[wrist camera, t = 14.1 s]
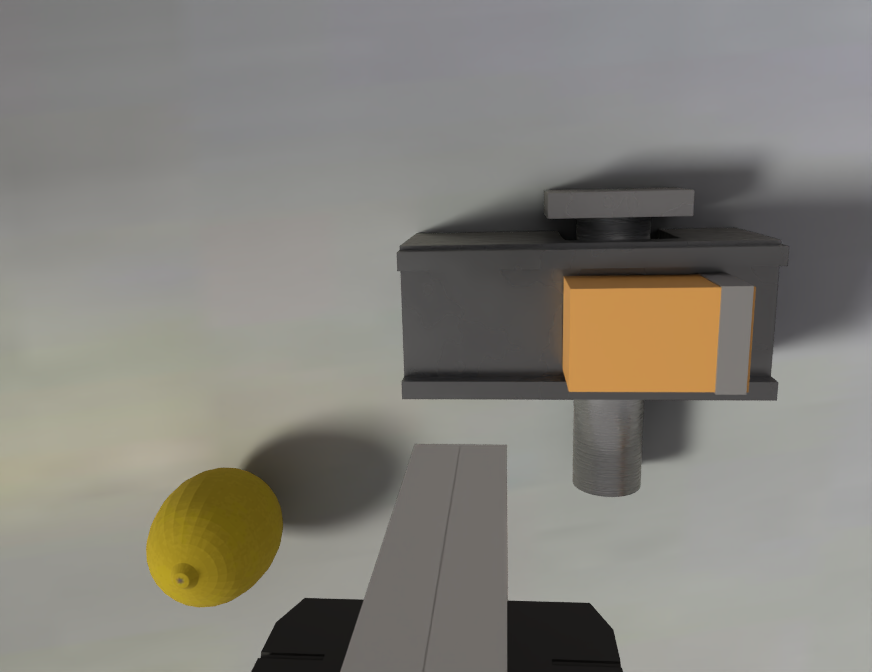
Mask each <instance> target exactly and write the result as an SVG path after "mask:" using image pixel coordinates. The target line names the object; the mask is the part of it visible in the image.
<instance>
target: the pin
mask: <svg viewBox="0 0 872 672" xmlns="http://www.w3.org/2000/svg"><path fill="white" fill-rule="evenodd" d="M694 191H695V190H692V189H684V188H677V187H667V188H624V189H580V190H544V214H545V216H546V217H547V218H548V219H562V218H577V240H621V239H650V225H651V217H665V216H693V210H694ZM643 408H644V400H574V423H573V484H574V485H575V486H576V487H577V488H578V489H580V490H581V491H583V492H586V493H589V494H592V495H597V496H605V497H619V496H626V495H630V494H633V493H635V492H636V491H638V490H639V489H640V485H641V460H642V434H643Z"/></svg>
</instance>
